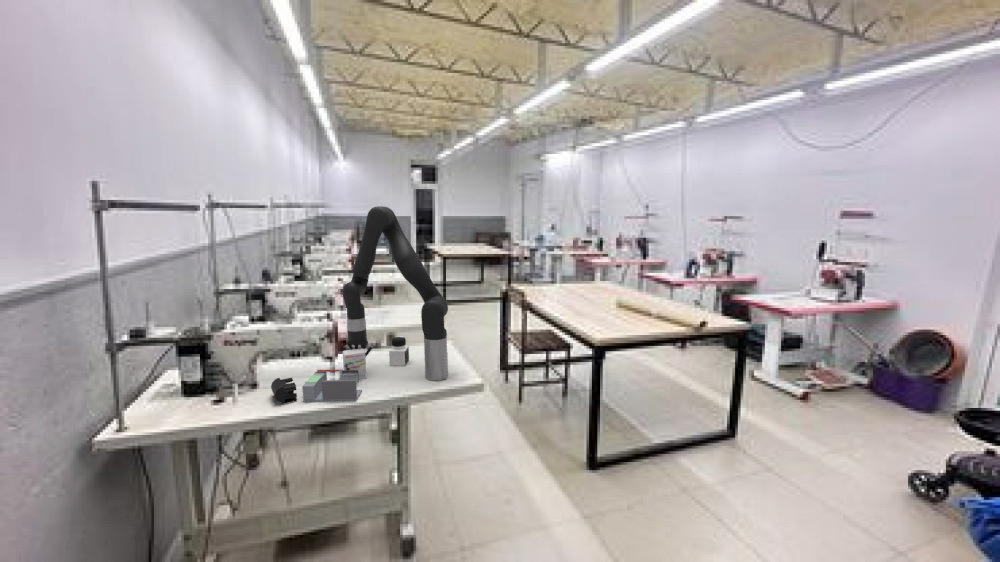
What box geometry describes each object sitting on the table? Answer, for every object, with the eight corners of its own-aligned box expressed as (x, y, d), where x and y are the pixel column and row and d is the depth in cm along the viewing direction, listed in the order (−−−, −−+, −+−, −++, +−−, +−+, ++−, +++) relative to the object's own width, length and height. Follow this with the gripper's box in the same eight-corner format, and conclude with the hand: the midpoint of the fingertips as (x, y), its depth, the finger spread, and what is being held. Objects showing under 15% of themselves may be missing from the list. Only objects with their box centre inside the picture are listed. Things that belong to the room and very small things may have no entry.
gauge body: (366, 385, 170) (365, 366, 169) (356, 401, 157) (355, 380, 155) (317, 386, 169) (315, 367, 168) (303, 402, 156) (301, 381, 154)
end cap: (271, 396, 161) (270, 379, 159) (292, 391, 165) (291, 375, 163) (275, 406, 153) (274, 388, 151) (297, 401, 157) (296, 384, 155)
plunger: (358, 382, 171) (358, 367, 170) (356, 385, 167) (355, 370, 166) (320, 382, 170) (319, 368, 169) (317, 386, 167) (316, 371, 166)
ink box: (345, 382, 173) (343, 354, 171) (344, 377, 177) (342, 350, 175) (367, 379, 176) (365, 351, 174) (365, 374, 181) (364, 347, 179)
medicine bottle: (405, 366, 190) (404, 340, 188) (389, 366, 190) (388, 340, 188) (409, 360, 197) (408, 335, 195) (393, 360, 197) (392, 335, 195)
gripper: (375, 325, 183) (377, 364, 186) (343, 325, 182) (346, 364, 185) (370, 330, 175) (372, 370, 179) (337, 330, 175) (340, 371, 178)
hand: (359, 367), depth 182 cm, fingers closed
